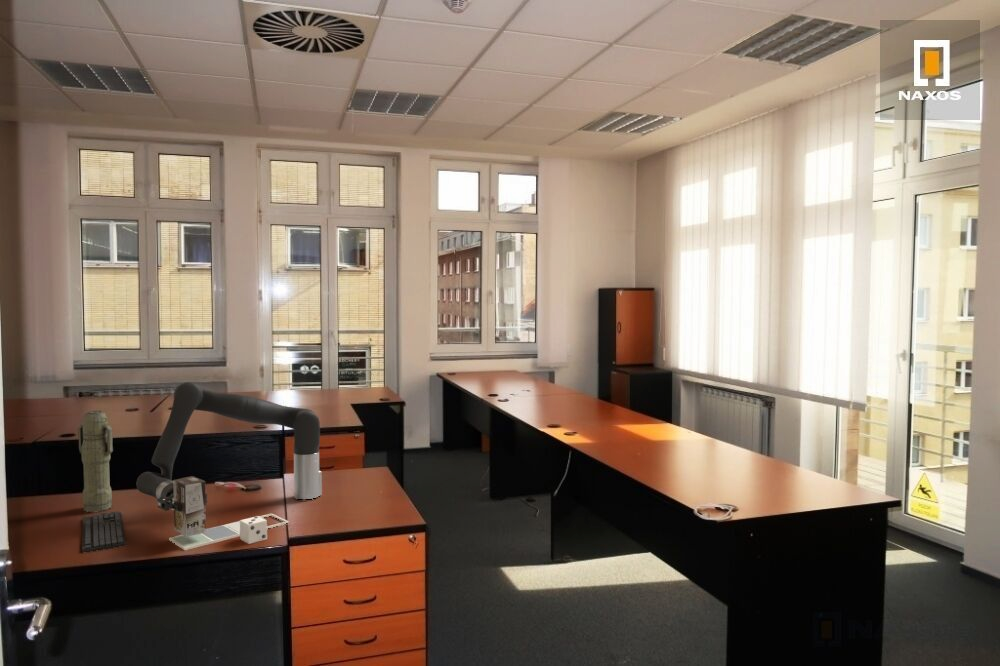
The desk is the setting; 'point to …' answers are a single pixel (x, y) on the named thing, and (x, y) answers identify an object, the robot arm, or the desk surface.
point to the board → (215, 534)
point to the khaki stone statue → (96, 460)
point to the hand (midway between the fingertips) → (192, 505)
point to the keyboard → (103, 531)
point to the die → (253, 529)
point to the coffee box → (190, 506)
